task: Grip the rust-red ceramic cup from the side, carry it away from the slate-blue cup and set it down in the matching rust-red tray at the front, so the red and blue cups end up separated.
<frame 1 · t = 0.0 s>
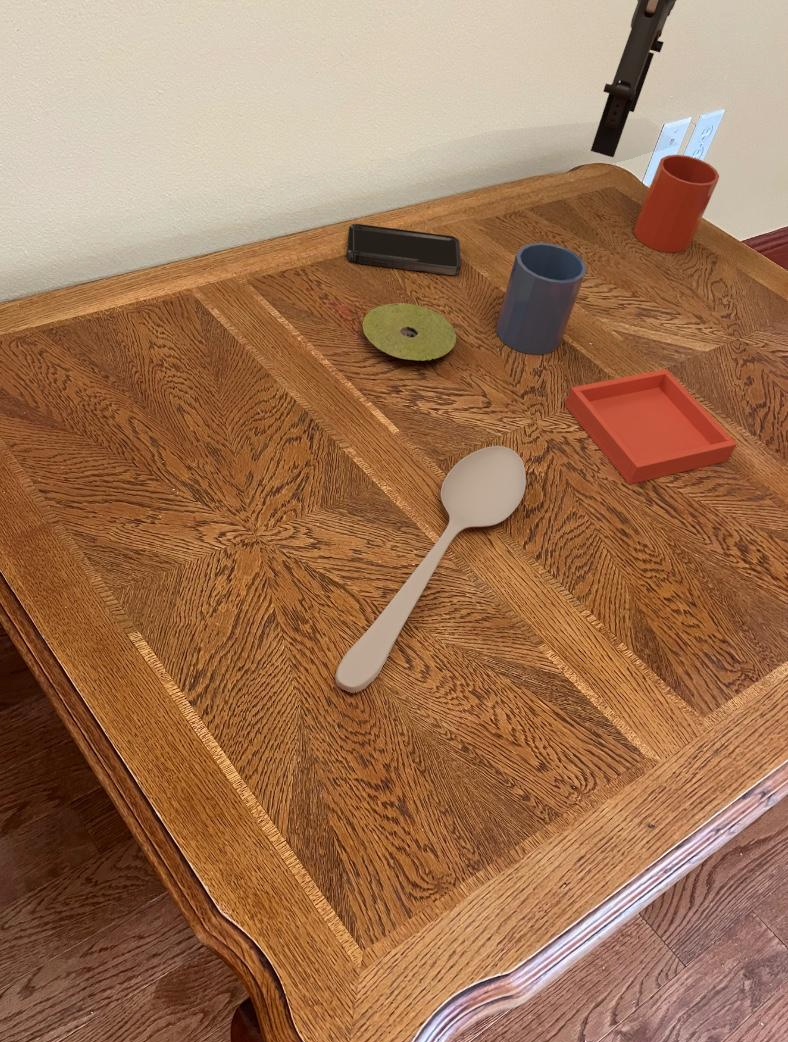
hand: (613, 130, 112), 19 cm above the table, tool pointing down, fingers open, 13 cm apart
blue cup: (528, 334, 117), on the table
green grinding disc: (406, 345, 113), on the table
spoon: (431, 569, 91), on the table
rust cup: (661, 237, 136), on the table
phone: (402, 254, 125), on the table
red tray: (644, 432, 107), on the table
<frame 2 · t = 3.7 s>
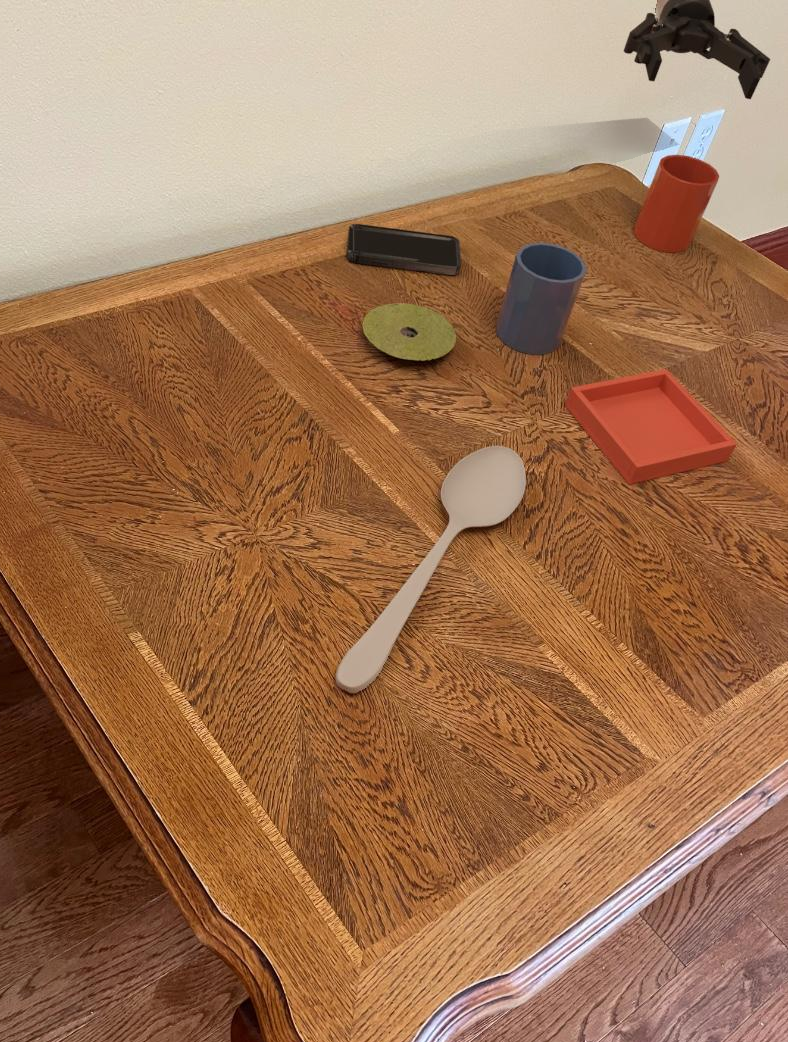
hand: (704, 79, 127), 18 cm above the table, tool horizontal, fingers open, 13 cm apart
nothing on the table moved.
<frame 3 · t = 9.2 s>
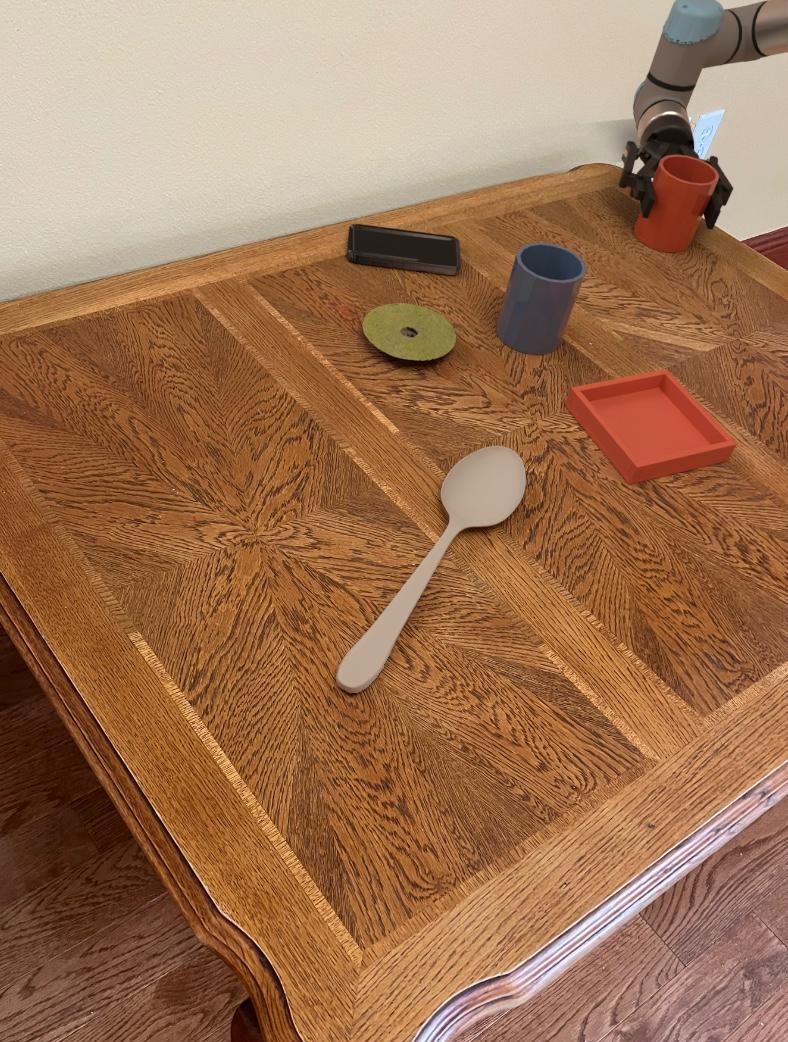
hand: (681, 214, 128), 6 cm above the table, tool horizontal, fingers closed on rust cup, 8 cm apart
rust cup: (661, 237, 136), on the table, touching gripper
everything else where it was.
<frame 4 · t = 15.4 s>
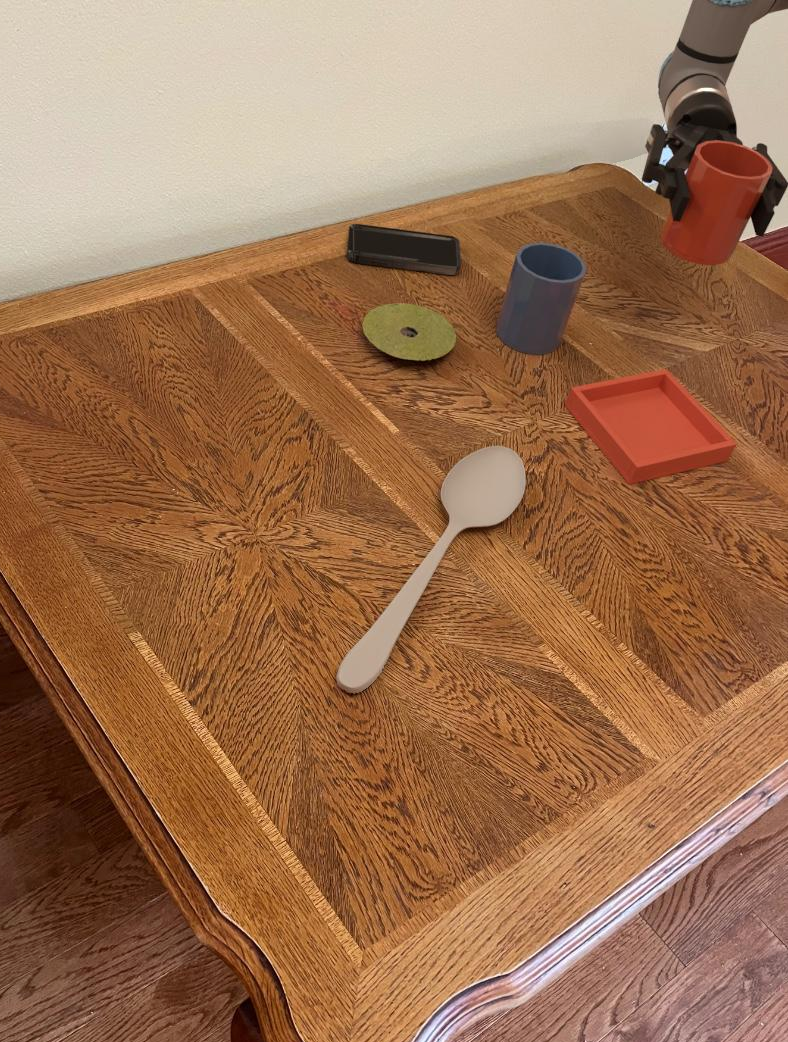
hand: (723, 216, 100), 20 cm above the table, tool horizontal, fingers closed on rust cup, 8 cm apart
rust cup: (695, 245, 108), point 14 cm above the table, touching gripper
everything else where it was.
when the fingers open (7 cm above the table, at t = 21.7 s): rust cup stays where it is, resting on red tray.
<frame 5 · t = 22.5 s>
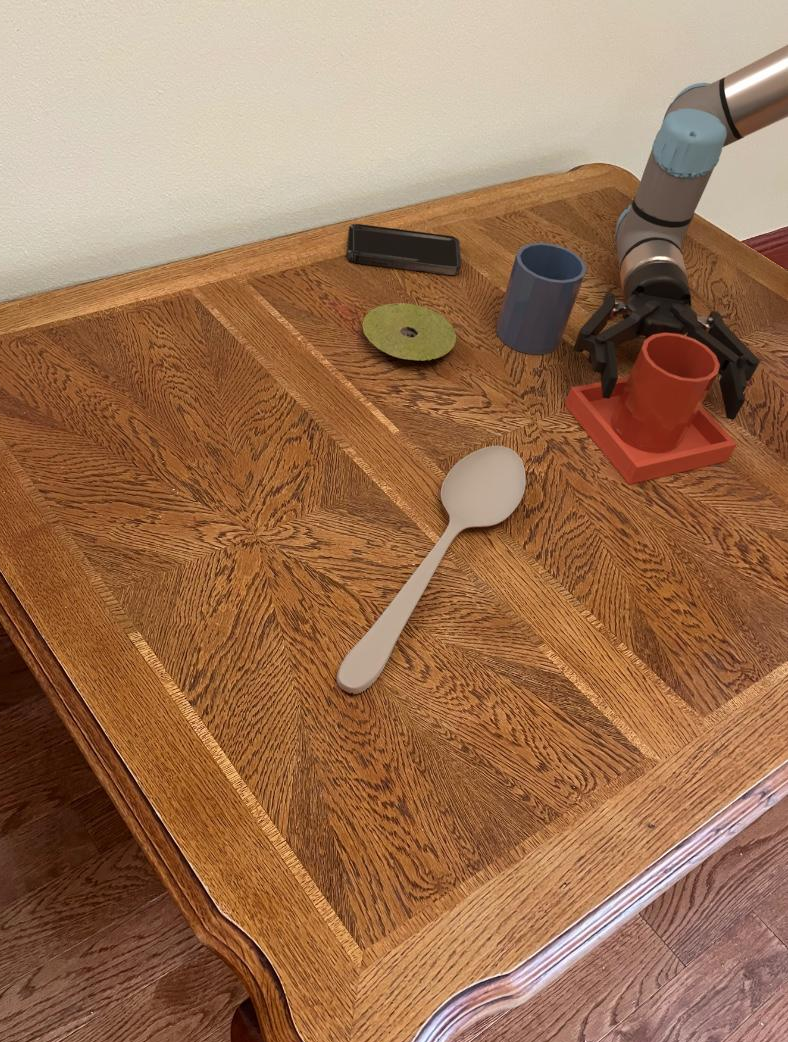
hand: (673, 399, 100), 7 cm above the table, tool horizontal, fingers open, 13 cm apart
rust cup: (646, 428, 107), point 1 cm above the table, touching red tray
everything else where it was.
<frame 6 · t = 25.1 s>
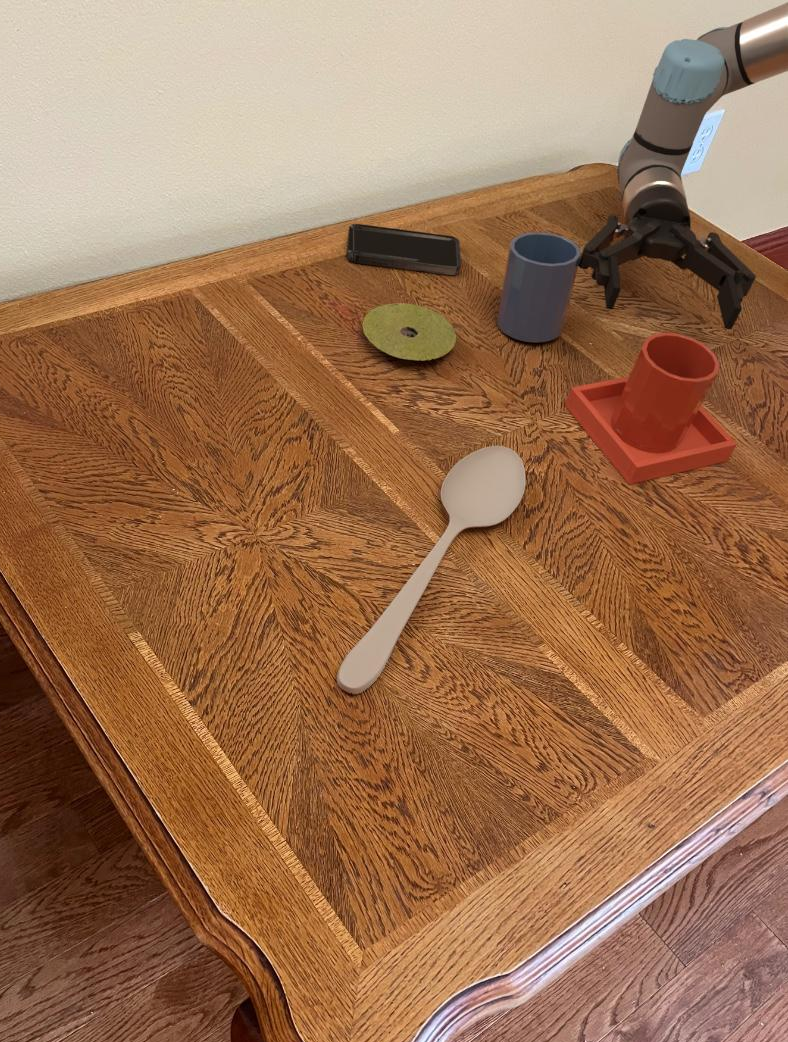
hand: (673, 308, 105), 11 cm above the table, tool horizontal, fingers open, 13 cm apart
blue cup: (529, 324, 117), on the table, tilted 6°
everything else where it was.
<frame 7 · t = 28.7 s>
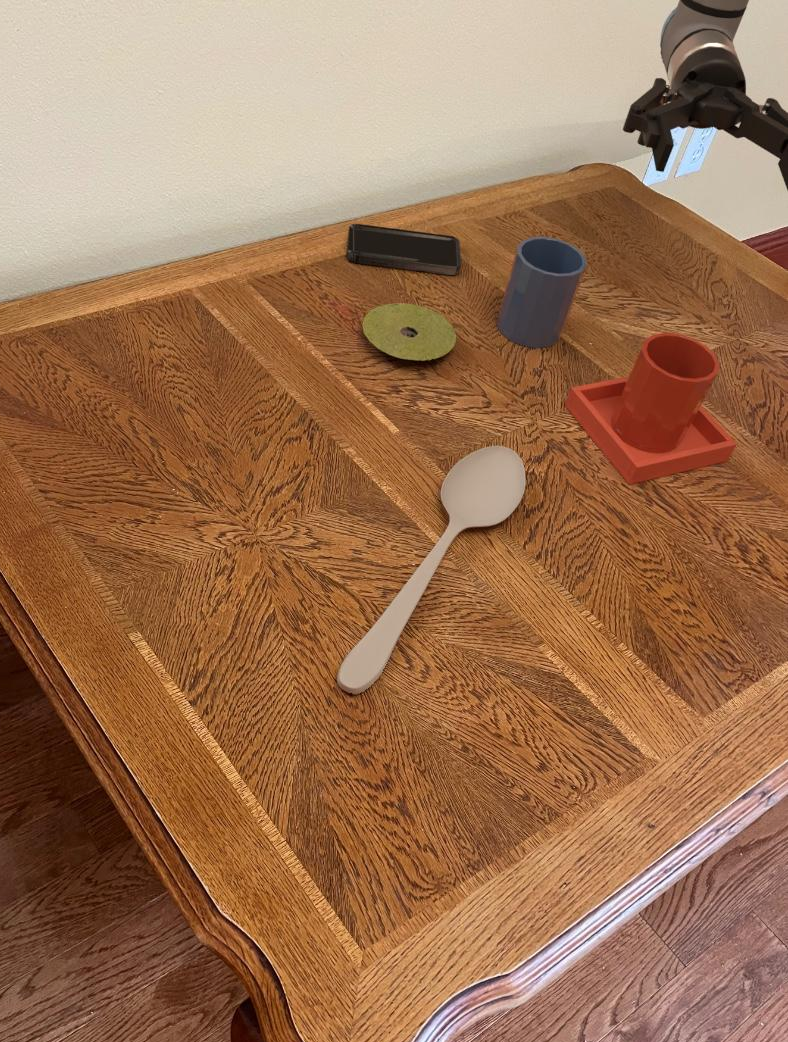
hand: (732, 170, 93), 26 cm above the table, tool horizontal, fingers open, 13 cm apart
blue cup: (528, 328, 118), on the table
everything else where it was.
at the end: rust cup inside the target area in the red tray (0.0 cm from its centre), point 0.6 cm above the red tray's base; rust cup tilted 0°; blue cup moved 1.4 cm from its start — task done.
